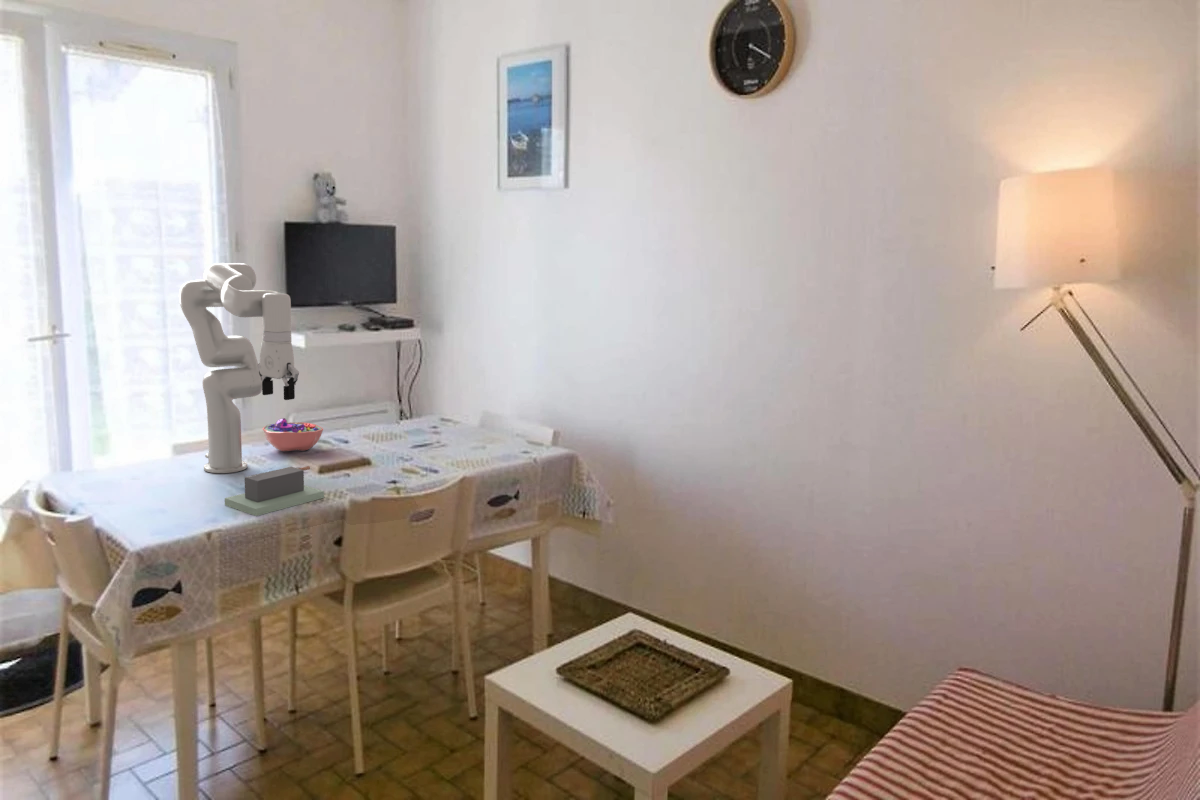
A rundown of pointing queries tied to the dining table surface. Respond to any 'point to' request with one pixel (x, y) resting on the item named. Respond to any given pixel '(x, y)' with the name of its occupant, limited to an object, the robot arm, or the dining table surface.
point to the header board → (273, 501)
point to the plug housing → (274, 483)
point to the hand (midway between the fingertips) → (278, 396)
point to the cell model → (292, 435)
